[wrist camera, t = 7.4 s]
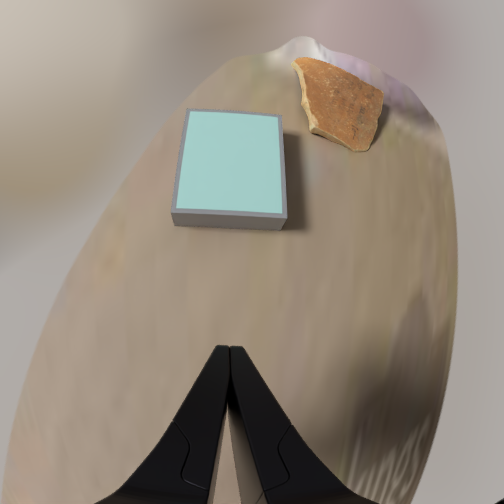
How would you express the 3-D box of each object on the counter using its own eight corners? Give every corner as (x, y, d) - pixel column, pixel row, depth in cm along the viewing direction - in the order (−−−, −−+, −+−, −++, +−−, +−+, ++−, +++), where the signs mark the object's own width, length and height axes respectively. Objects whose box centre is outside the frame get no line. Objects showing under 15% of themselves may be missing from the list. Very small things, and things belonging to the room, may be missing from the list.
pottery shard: (293, 61, 27) (298, 43, 24) (374, 92, 27) (384, 76, 25) (268, 125, 23) (274, 104, 21) (371, 162, 24) (384, 146, 21)
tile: (287, 218, 18) (281, 114, 21) (170, 212, 17) (186, 108, 20) (278, 232, 21) (275, 135, 23) (175, 228, 20) (188, 129, 22)
